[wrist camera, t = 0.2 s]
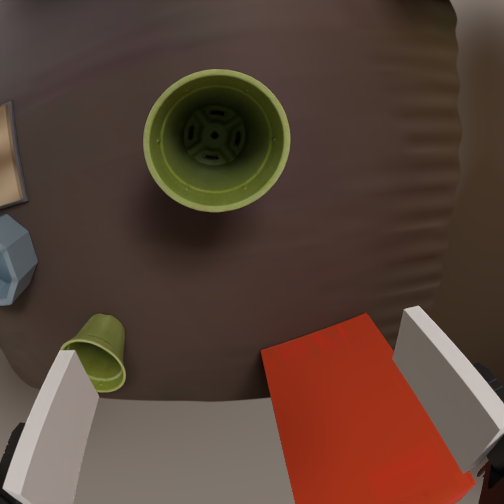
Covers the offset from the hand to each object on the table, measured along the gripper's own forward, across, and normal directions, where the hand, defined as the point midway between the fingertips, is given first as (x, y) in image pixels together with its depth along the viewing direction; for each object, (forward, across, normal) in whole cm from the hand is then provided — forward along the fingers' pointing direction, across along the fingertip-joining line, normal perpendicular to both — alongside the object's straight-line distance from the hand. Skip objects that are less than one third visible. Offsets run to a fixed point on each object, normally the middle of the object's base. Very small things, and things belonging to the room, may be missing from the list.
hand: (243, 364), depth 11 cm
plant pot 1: (+28, -20, -17) cm, 38 cm away
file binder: (+28, +12, -26) cm, 40 cm away
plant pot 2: (+28, 0, +7) cm, 29 cm away
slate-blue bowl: (+28, -33, -3) cm, 43 cm away
